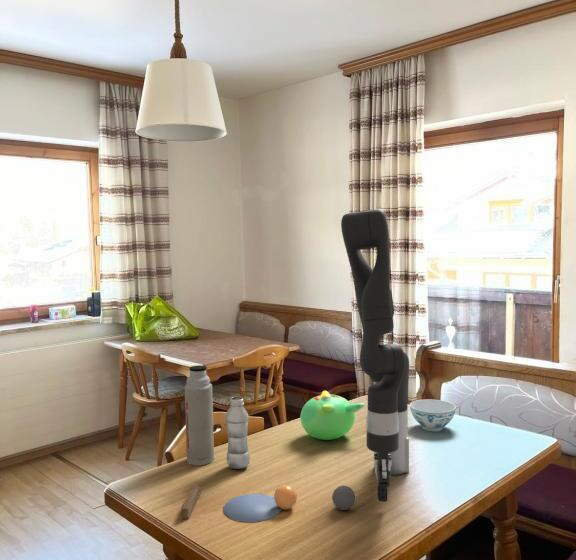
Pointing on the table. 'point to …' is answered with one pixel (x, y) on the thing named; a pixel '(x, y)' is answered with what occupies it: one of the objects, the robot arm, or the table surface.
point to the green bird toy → (328, 416)
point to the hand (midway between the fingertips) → (382, 499)
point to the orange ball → (285, 497)
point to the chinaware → (432, 413)
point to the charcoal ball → (343, 497)
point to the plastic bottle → (237, 434)
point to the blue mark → (251, 508)
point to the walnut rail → (190, 502)
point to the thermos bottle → (199, 417)
